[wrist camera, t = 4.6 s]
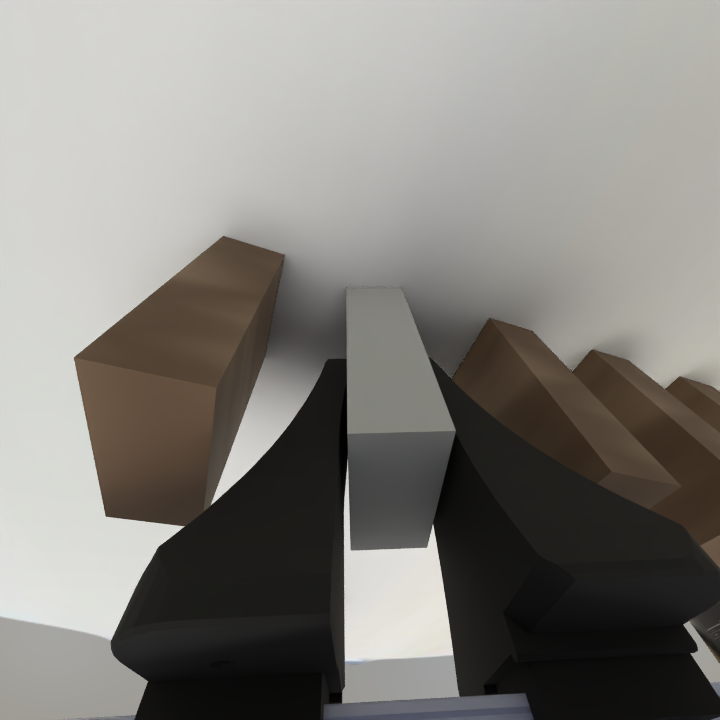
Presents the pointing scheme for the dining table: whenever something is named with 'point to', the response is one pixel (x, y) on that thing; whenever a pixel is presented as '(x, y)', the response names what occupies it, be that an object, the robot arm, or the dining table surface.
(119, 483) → the domino
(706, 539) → the domino
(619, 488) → the domino
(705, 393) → the domino
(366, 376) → the domino
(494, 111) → the dining table surface
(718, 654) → the supplement bottle
